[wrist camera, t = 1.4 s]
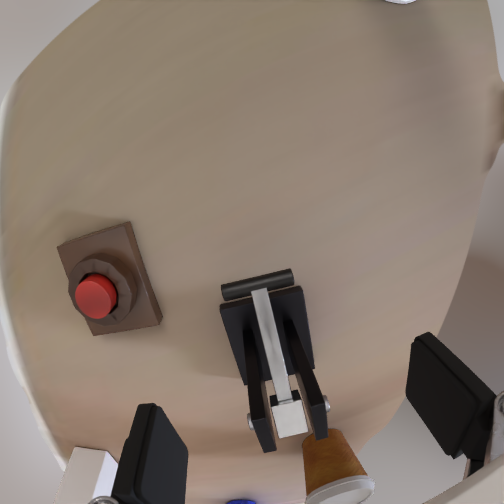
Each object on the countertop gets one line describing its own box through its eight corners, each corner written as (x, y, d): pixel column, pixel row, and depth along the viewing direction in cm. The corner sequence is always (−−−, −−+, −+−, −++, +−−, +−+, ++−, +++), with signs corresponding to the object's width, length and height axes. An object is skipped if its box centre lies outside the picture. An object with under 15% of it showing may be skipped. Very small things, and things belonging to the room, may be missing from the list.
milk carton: (107, 450, 35) (81, 541, 16) (125, 471, 37) (107, 555, 18) (74, 445, 34) (44, 527, 16) (93, 466, 36) (71, 543, 18)
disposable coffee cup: (300, 462, 38) (314, 521, 26) (283, 436, 35) (298, 505, 23) (355, 442, 37) (379, 498, 26) (347, 412, 35) (376, 478, 23)
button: (77, 278, 23) (69, 285, 21) (108, 269, 23) (101, 277, 21) (91, 312, 24) (84, 321, 22) (123, 306, 24) (116, 315, 22)
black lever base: (219, 304, 28) (216, 397, 16) (300, 285, 28) (346, 366, 16) (243, 378, 31) (252, 471, 19) (312, 362, 31) (347, 449, 19)
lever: (223, 285, 22) (218, 284, 19) (288, 269, 22) (292, 266, 19) (259, 429, 20) (259, 442, 18) (321, 414, 20) (327, 426, 18)
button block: (64, 242, 25) (47, 252, 22) (130, 221, 25) (116, 229, 22) (98, 328, 28) (87, 345, 25) (162, 316, 28) (155, 334, 25)
